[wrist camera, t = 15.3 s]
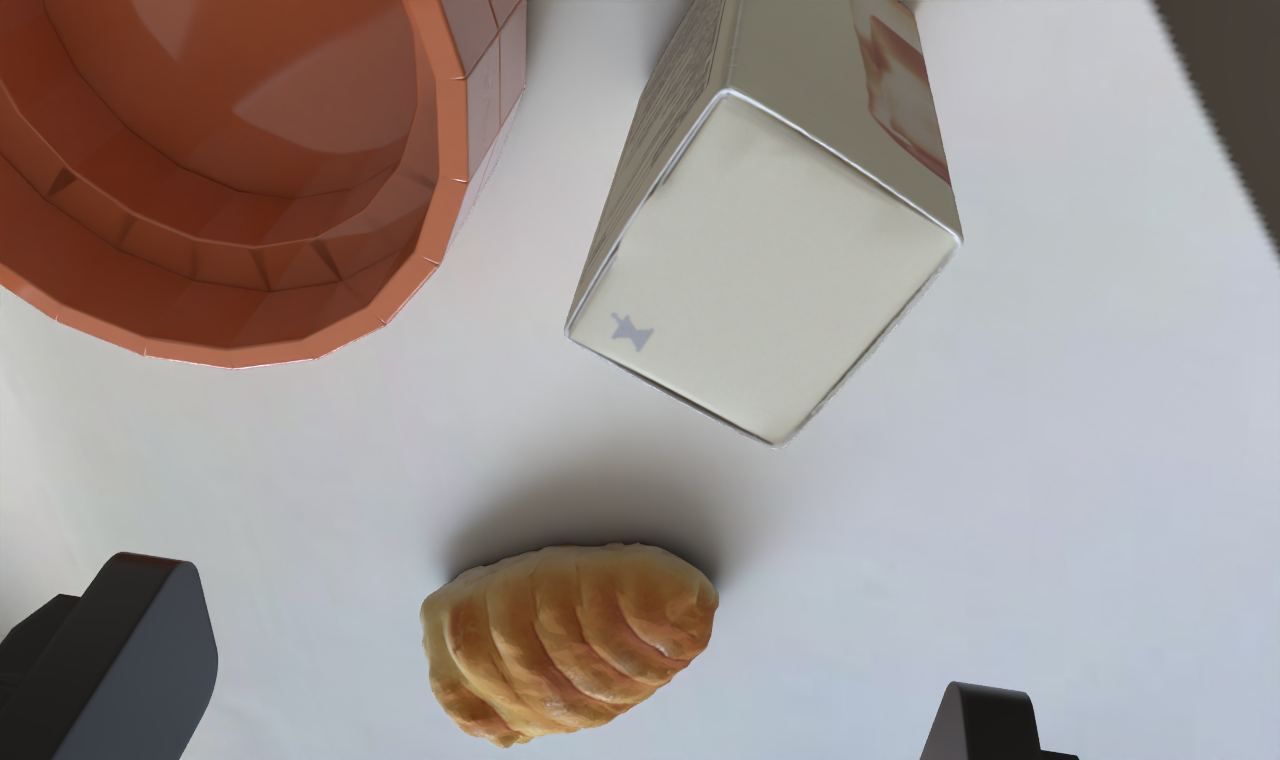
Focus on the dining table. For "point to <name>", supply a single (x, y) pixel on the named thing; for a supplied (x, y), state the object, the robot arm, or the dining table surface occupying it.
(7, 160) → the bowl
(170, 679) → the robot arm
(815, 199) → the printed white carton
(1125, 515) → the dining table surface
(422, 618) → the pastry
